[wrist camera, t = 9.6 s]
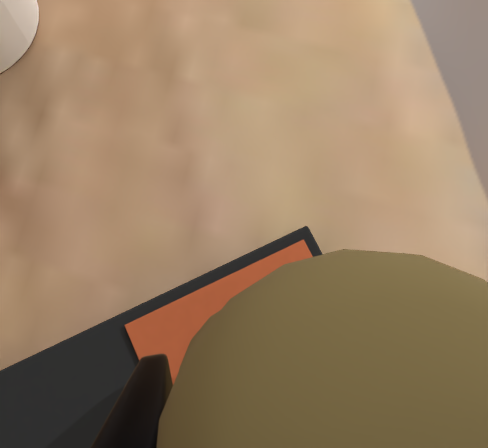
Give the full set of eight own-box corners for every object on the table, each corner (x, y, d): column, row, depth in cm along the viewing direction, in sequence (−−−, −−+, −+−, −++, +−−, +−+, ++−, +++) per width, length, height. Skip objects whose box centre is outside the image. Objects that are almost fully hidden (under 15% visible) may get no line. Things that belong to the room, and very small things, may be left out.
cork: (135, 382, 14) (-80, 492, 4) (278, 256, 16) (418, 71, 5) (267, 544, 13) (474, 1294, 3) (405, 397, 15) (901, 532, 4)
